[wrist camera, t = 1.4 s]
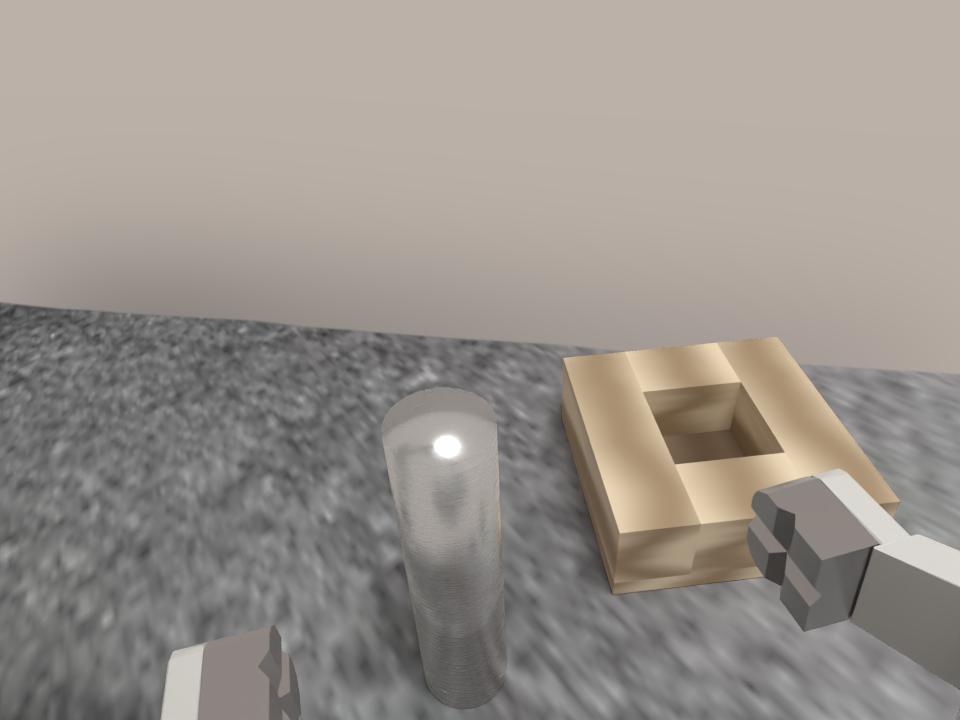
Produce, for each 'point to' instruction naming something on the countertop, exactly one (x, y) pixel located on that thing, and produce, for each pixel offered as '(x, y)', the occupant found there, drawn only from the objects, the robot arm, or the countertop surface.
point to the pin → (451, 538)
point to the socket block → (695, 454)
